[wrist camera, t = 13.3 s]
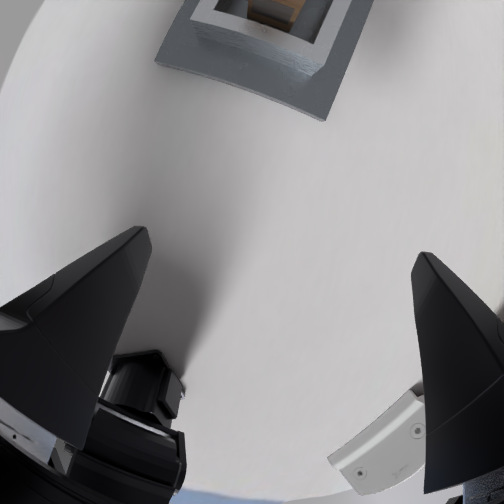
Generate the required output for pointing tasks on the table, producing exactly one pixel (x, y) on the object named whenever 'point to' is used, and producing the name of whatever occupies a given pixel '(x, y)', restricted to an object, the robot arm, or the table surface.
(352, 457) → the hinge
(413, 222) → the table surface
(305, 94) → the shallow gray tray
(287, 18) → the tan tall block
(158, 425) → the robot arm
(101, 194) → the table surface
